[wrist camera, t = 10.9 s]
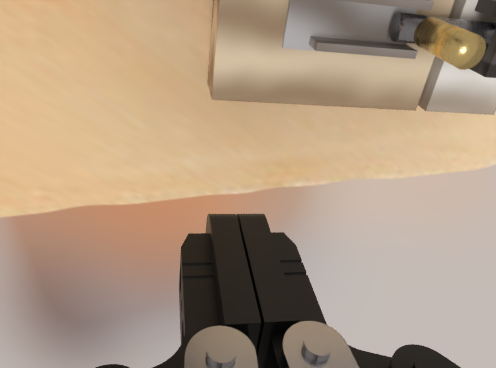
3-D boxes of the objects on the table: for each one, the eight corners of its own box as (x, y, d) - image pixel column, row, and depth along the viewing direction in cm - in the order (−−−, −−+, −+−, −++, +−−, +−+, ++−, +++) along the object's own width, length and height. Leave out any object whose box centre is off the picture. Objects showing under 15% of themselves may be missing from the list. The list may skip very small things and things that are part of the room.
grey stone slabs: (221, -113, 29) (238, -118, 23) (535, -64, 35) (622, -57, 28) (207, 82, 37) (216, 120, 30) (467, 98, 42) (524, 134, 35)
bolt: (395, 8, 31) (447, 31, 26) (510, 21, 33) (582, 44, 28) (386, 39, 32) (434, 67, 27) (498, 49, 35) (565, 77, 29)
